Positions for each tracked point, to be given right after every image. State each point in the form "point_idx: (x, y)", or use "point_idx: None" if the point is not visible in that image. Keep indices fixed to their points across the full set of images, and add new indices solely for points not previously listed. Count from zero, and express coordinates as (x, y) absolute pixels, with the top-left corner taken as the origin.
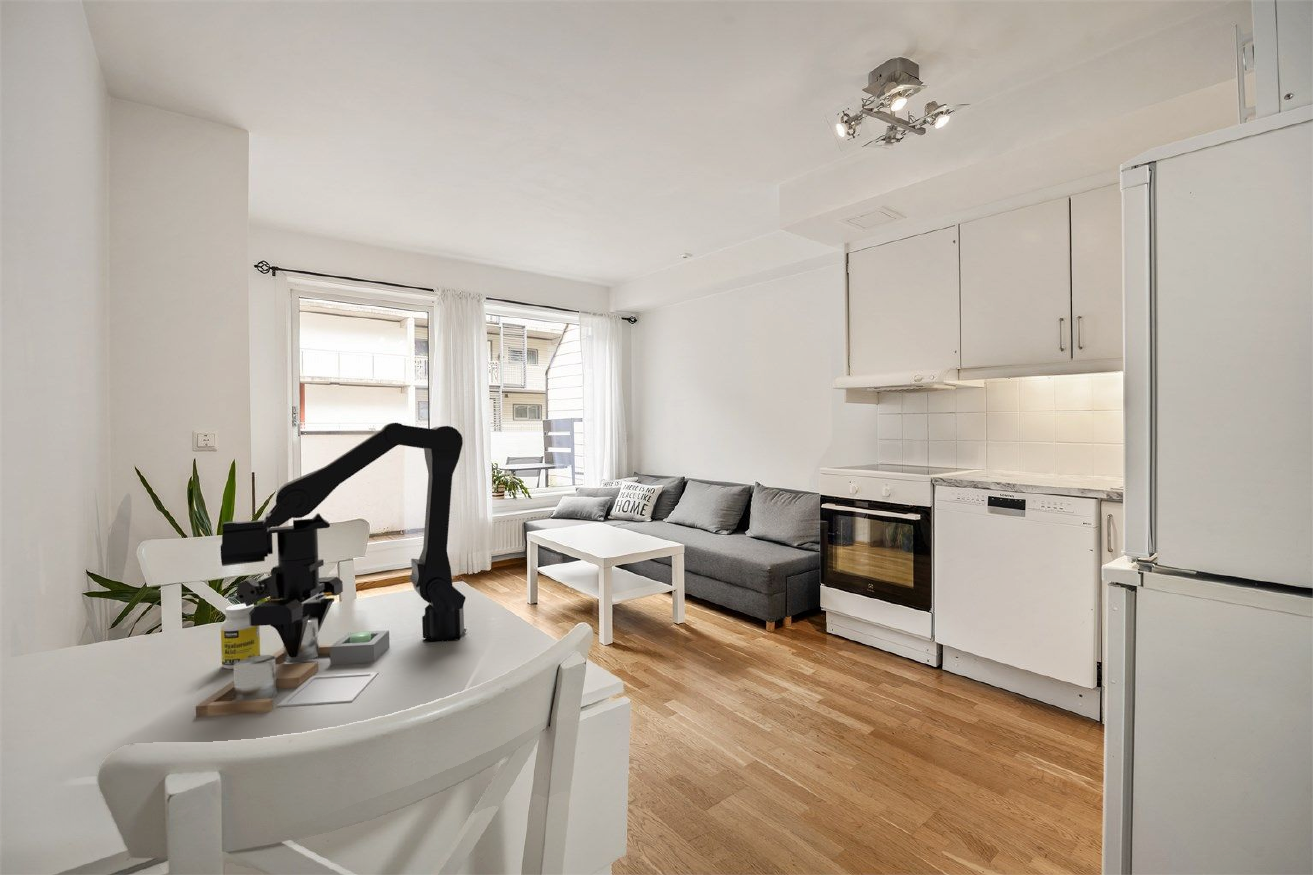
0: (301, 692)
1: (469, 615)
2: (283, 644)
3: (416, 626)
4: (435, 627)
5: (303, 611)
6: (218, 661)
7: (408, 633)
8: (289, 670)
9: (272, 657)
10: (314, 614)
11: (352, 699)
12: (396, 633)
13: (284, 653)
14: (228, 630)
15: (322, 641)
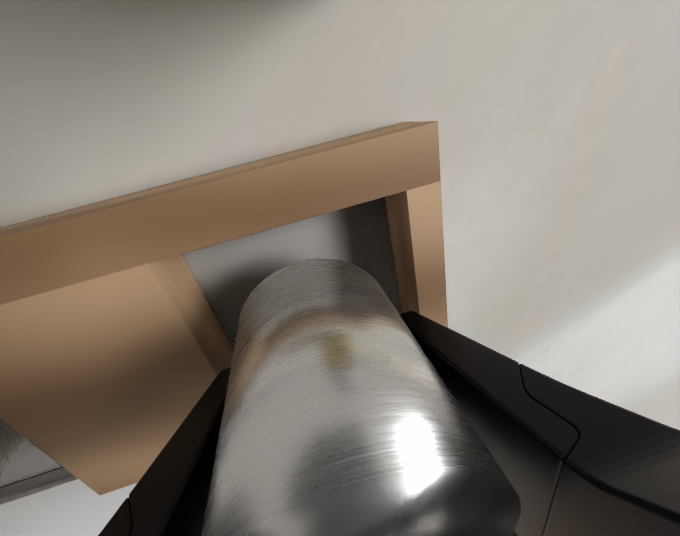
0: (83, 492)
1: (669, 426)
2: (247, 351)
3: (641, 371)
4: (515, 532)
5: (613, 529)
6: None
7: (586, 388)
8: (140, 420)
9: None
10: (549, 532)
11: None
12: (599, 360)
13: (242, 326)
14: None
15: (616, 147)
